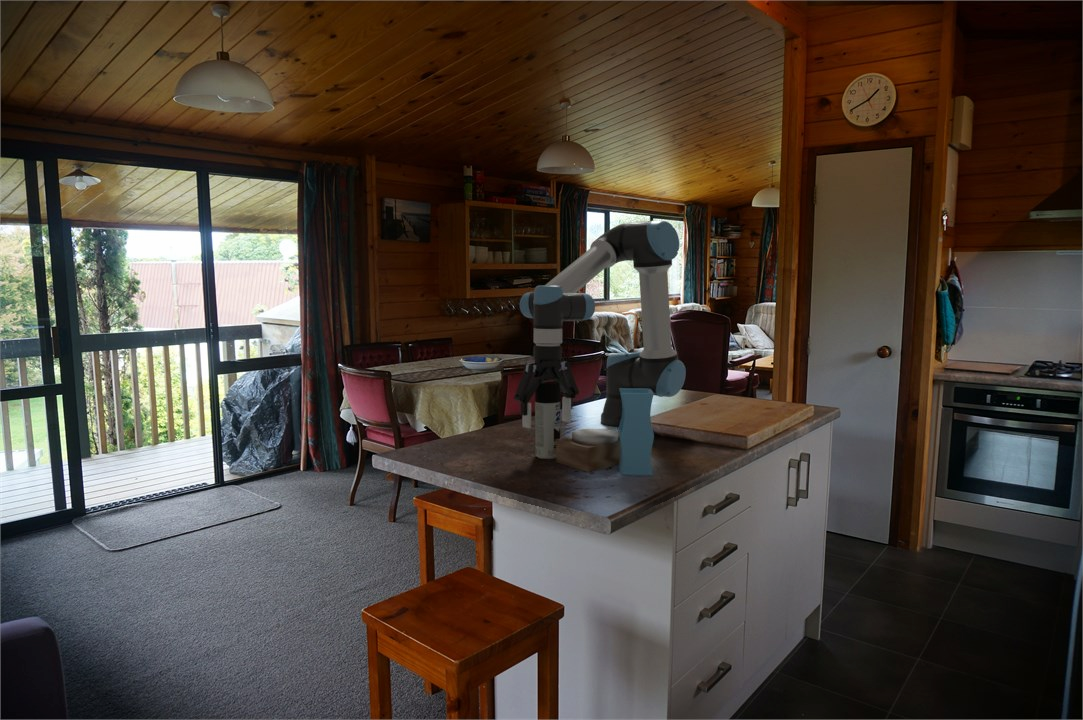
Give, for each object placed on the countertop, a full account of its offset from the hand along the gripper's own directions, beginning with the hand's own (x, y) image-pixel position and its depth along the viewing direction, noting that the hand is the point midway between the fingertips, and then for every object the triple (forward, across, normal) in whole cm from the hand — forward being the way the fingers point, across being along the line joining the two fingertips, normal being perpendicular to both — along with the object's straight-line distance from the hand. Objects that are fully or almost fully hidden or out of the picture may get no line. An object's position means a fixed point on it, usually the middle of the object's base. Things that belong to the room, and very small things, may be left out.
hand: (547, 424), depth 186 cm
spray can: (+9, 0, 0) cm, 9 cm away
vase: (+9, -8, +24) cm, 27 cm away
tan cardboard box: (+9, -6, +12) cm, 16 cm away
